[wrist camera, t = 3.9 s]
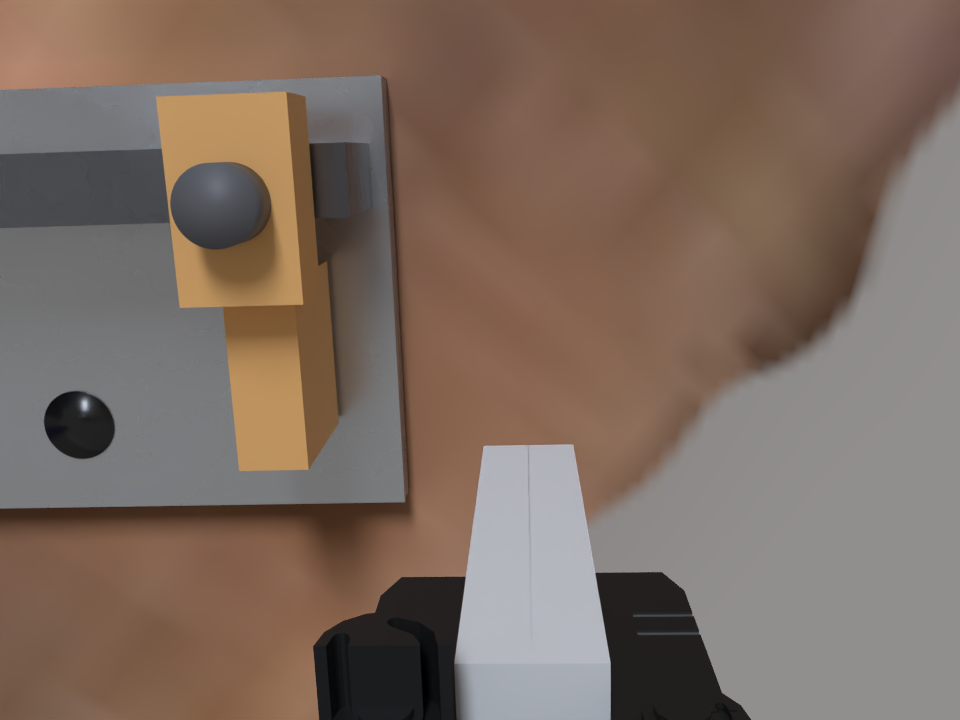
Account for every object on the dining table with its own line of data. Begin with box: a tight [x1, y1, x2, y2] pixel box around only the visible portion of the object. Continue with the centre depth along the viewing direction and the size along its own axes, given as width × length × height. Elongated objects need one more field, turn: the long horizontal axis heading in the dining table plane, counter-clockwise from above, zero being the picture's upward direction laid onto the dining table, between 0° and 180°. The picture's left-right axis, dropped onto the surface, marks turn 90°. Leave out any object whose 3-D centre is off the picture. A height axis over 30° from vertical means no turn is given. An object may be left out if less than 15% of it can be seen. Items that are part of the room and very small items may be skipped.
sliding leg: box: [156, 92, 339, 471], centre depth 25 cm, size 3×11×7 cm, turn 2°
